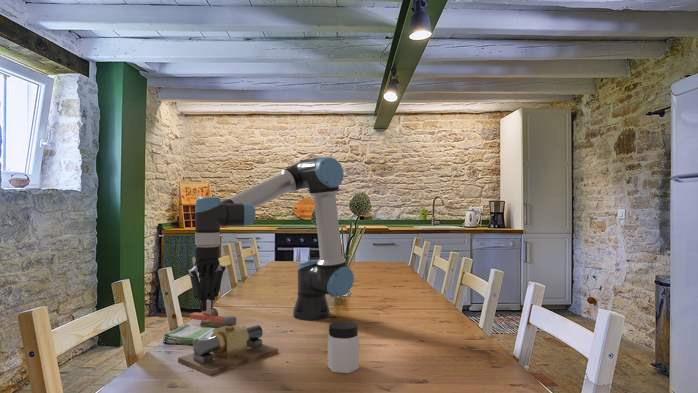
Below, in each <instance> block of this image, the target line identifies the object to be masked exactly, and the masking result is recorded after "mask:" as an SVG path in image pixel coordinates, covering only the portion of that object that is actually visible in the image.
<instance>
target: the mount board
mask: <svg viewBox="0 0 698 393" xmlns="http://www.w3.org/2000/svg"><path fill="white" fill-rule="evenodd" d="M278 351H279V350H278V348H277V347H274V346H270V345H267V344H264V343H262V346H261V347H258V348H252V347H249V346H247V352H246V353H243V354H240V355H237V356H234V357H231V358H228V359H226V358H224V357H221V356H218V355H215V354H213V352H210V354H213V362H210V363H207V364H204V365H203V364H201V363H198V362H196V361H194V352H193V353H190V354H187V355H183V356H180V357H177V362H178V363H180V364H182V365H185V366H187V367H189V368H192V369H194V370H197V371H199V372H201V373H203V374H206V375H209V376H213V375H216V374H219V373H222V372H225V371H227V370H231V369H233V368H236V367H240V366H242V365H243V366H244V365H245V364H247V363H250V362H254V361H257V360H260V359H264V358H265V357H268V356H272V355H274V354H278Z"/></svg>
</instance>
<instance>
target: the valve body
mask: <svg viewBox="0 0 698 393" xmlns="http://www.w3.org/2000/svg"><path fill="white" fill-rule="evenodd" d="M263 334H264V332H263V329H262V327H261V326H260V325H259V324H257V325H253V326H249V327H246V326H244V325H237V324H236V325H235V324H232V325H226V326H224V327H220V328H216V329H213V334H212V335H211V337H210V338H207V339H203V340H200V341H196V342H195V343H194V345H192V350H193V353H194V361H196V362H198V363H201V364H203V365H204V364H207V363H210V362H213V354H215V355H218V356H221V357H224V358H226V359H228V358H231V357H234V356H237V355H240V354H243V353H246V352H247V346H249V347H252V348H258V347H261V346H262V344H263V339H262V336H263ZM210 352H213V354H210Z"/></svg>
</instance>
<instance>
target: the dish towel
mask: <svg viewBox="0 0 698 393" xmlns="http://www.w3.org/2000/svg"><path fill="white" fill-rule="evenodd" d="M213 329H216V328H207V327H206V328H205V327H201V326H194V325H190V324H183V325H180V326H179V327H178V328H176V329H173V330H171V331H169V332H165V333H163V336H164V338H163V340H162V341H163V342H164V341H165V342H166V343H165V342H164V343H163V342H162V343H163V344H172V343H175V344H176V343H178V344H176V345H192V346H193V345H194V343H195V342H196V341H200V340H203V339H207V338H210V337H211V335H212V334H213Z"/></svg>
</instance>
